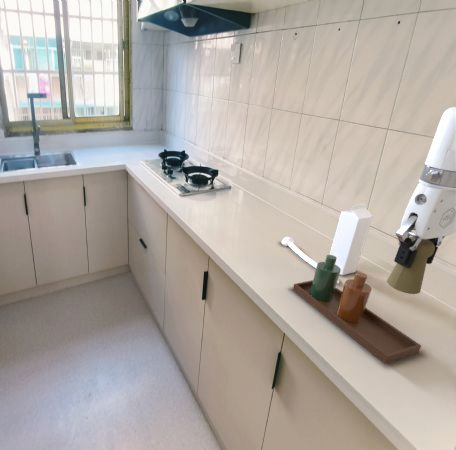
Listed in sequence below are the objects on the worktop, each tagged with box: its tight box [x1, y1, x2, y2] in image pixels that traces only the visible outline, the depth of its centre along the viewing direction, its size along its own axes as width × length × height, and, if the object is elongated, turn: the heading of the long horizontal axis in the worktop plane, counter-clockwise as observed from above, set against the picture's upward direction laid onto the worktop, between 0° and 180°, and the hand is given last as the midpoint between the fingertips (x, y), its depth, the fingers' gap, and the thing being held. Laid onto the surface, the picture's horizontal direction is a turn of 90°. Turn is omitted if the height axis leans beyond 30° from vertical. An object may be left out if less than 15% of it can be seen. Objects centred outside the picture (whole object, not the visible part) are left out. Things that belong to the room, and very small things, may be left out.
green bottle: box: [310, 254, 341, 302], centre depth 90 cm, size 6×6×12 cm
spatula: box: [281, 236, 340, 285], centre depth 110 cm, size 28×4×3 cm, turn 15°
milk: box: [329, 202, 374, 276], centre depth 102 cm, size 6×6×22 cm
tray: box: [292, 279, 422, 365], centre depth 84 cm, size 10×28×2 cm, turn 20°
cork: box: [386, 236, 435, 295], centre depth 70 cm, size 6×6×11 cm
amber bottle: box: [336, 271, 372, 323], centre depth 82 cm, size 6×6×12 cm
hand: (412, 262), depth 70 cm, fingers closed on cork, 5 cm apart
